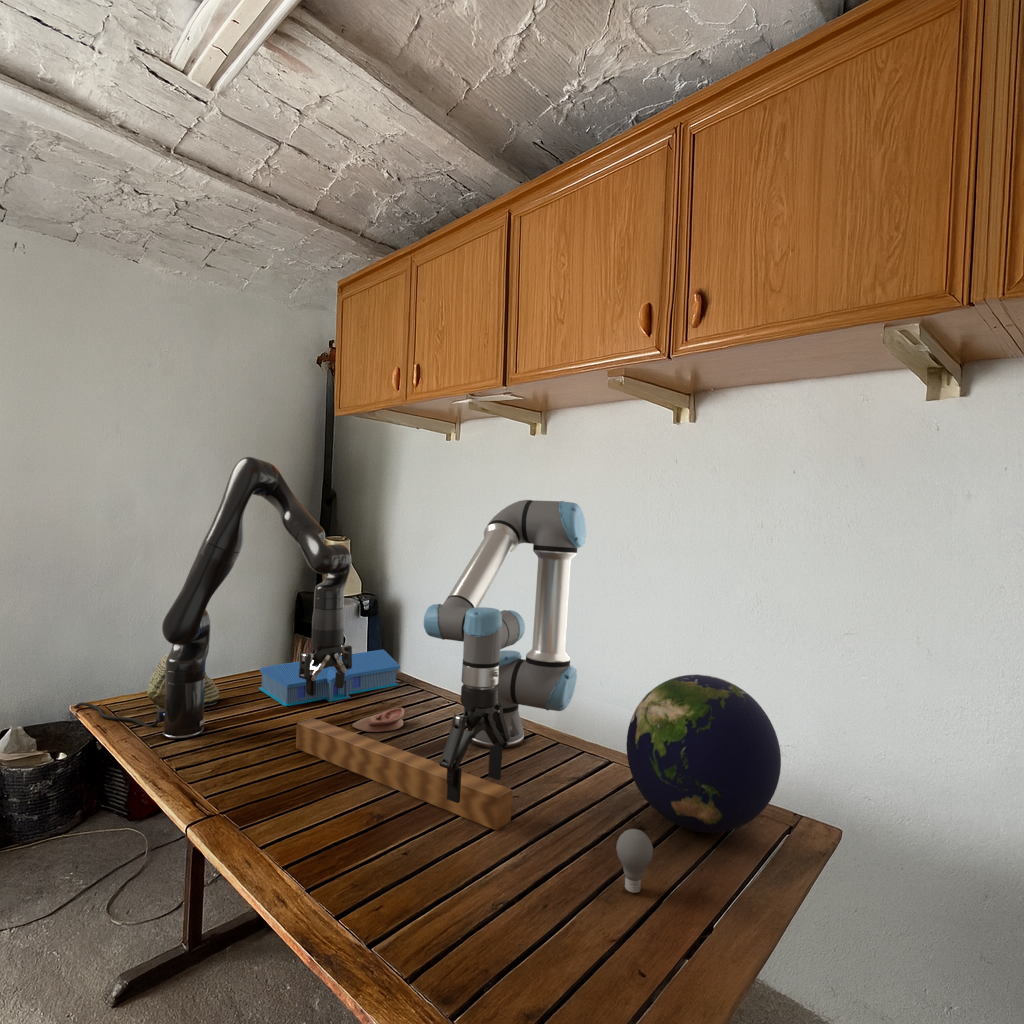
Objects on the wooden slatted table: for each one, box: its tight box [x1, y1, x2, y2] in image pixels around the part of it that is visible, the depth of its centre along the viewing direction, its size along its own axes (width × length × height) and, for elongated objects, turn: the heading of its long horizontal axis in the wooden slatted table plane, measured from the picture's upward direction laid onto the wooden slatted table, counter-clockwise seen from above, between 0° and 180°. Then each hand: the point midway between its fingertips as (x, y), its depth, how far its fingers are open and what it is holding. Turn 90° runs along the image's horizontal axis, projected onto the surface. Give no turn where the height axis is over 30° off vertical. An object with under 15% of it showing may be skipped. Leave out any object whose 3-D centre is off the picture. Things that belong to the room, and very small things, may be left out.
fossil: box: [147, 654, 221, 711], centre depth 185 cm, size 9×18×15 cm, turn 132°
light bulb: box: [615, 828, 654, 894], centre depth 106 cm, size 6×6×10 cm
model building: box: [258, 649, 401, 707], centre depth 208 cm, size 39×24×10 cm, turn 132°
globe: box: [626, 673, 782, 834], centre depth 129 cm, size 30×30×30 cm
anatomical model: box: [351, 707, 405, 733], centre depth 176 cm, size 13×4×12 cm
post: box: [295, 717, 513, 831], centre depth 143 cm, size 62×5×6 cm, turn 56°
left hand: (325, 691), depth 156 cm, fingers open, 8 cm apart
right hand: (474, 789), depth 129 cm, fingers open, 13 cm apart
